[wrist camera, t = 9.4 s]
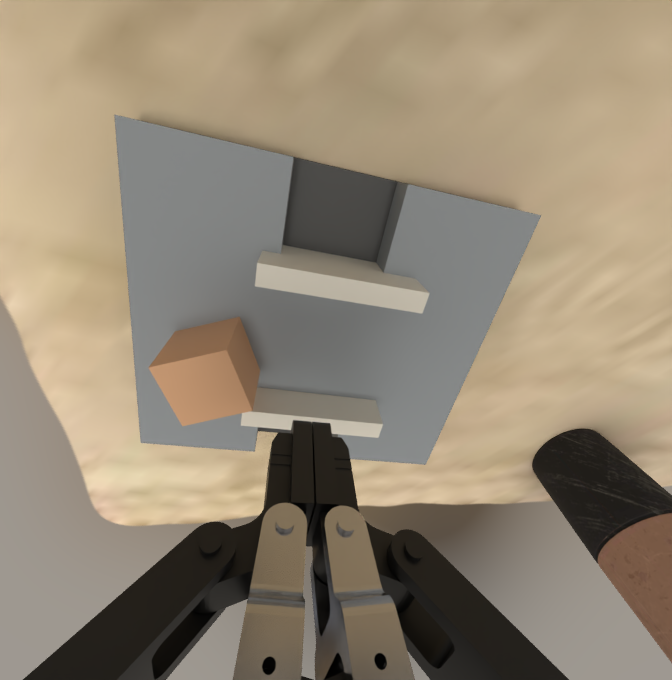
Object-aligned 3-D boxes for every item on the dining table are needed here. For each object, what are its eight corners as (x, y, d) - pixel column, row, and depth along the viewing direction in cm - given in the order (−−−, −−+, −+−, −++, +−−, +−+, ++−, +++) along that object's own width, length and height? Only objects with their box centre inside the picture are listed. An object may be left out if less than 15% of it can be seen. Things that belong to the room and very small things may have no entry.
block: (174, 331, 20) (148, 367, 16) (239, 316, 20) (226, 349, 16) (201, 383, 22) (182, 426, 18) (260, 370, 22) (252, 410, 18)
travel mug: (520, 448, 32) (795, 807, 14) (601, 413, 30) (1010, 758, 13) (538, 491, 35) (775, 821, 18) (610, 461, 34) (943, 785, 16)
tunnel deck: (138, 120, 17) (82, 106, 13) (515, 209, 21) (573, 222, 17) (154, 418, 26) (124, 471, 22) (416, 442, 30) (436, 490, 25)
